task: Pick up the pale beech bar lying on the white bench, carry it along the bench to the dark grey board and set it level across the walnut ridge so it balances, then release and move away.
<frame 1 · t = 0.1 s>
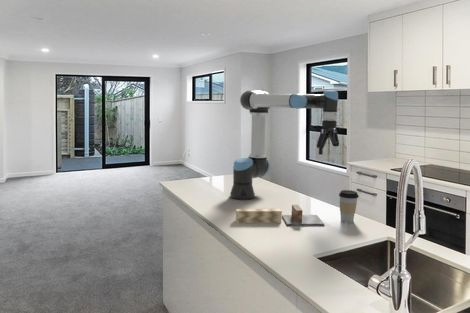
hand: (327, 159, 205), 28 cm above the counter, fingers open, 13 cm apart
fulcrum: (296, 221, 187), on the counter
coffee cup: (347, 221, 189), on the counter
beech bar: (258, 221, 186), on the counter
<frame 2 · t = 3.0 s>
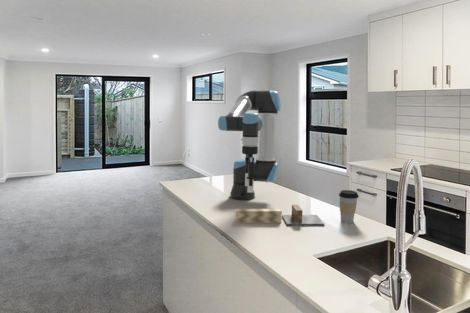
hand: (248, 189, 183), 16 cm above the counter, fingers open, 13 cm apart
nothing on the counter moved.
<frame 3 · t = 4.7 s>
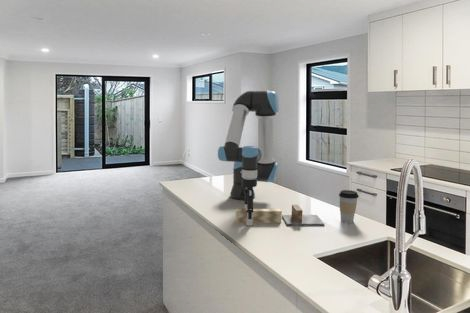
hand: (248, 220, 186), 0 cm above the counter, fingers open, 12 cm apart
nothing on the counter moved.
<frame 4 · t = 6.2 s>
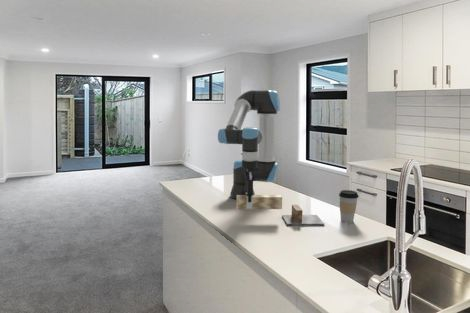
hand: (248, 206, 185), 7 cm above the counter, fingers closed on beech bar, 4 cm apart
beech bar: (258, 207, 186), point 7 cm above the counter, touching gripper
everything else where it was.
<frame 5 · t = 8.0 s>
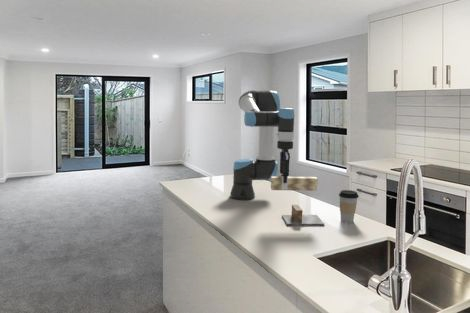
hand: (283, 188, 184), 17 cm above the counter, fingers closed on beech bar, 4 cm apart
beech bar: (293, 189, 185), point 16 cm above the counter, touching gripper
everything else where it was.
when the fingers open (7 cm above the counter, at t = 9.9 s): beech bar stays where it is, resting on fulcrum.
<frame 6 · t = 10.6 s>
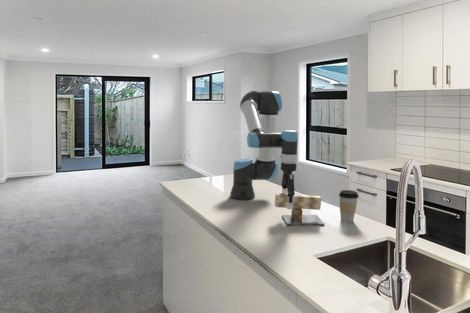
hand: (287, 205, 186), 8 cm above the counter, fingers open, 13 cm apart
beech bar: (297, 207, 186), point 7 cm above the counter, touching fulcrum
everything else where it was.
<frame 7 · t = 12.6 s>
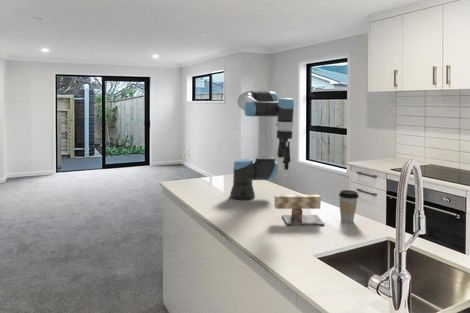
hand: (282, 172, 188), 23 cm above the counter, fingers open, 13 cm apart
nothing on the counter moved.
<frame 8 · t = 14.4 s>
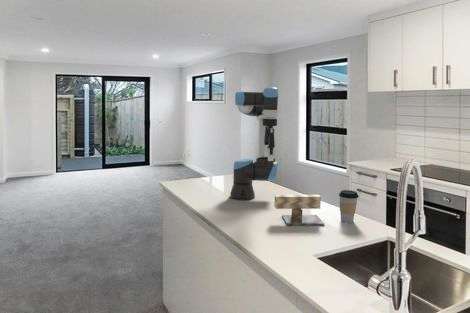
hand: (268, 158, 198), 29 cm above the counter, fingers open, 13 cm apart
nothing on the counter moved.
at the end: beech bar 0.1 cm off-centre on the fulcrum, point 7.0 cm above the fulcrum's base; beech bar tilted 0°; the gripper is holding nothing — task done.
